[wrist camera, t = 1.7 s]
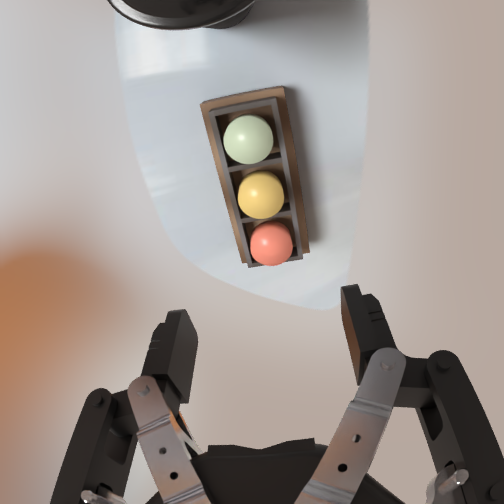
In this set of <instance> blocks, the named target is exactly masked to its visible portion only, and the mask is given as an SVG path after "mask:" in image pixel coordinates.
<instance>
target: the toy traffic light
mask: <svg viewBox="0 0 504 504" xmlns="http://www.w3.org/2000/svg"><path fill="white" fill-rule="evenodd" d="M200 108H201V111H202V115H203V119H204V123H205V127H206V131H207V134H208V138H209V142H210V146H211V150H212V153H213V157H214V161H215V165H216V168H217V172H218V176H219V180H220V183H221V187H222V191H223V195H224V198H225V202H226V206H227V209H228V213H229V217H230V220H231V224H232V228H233V231H234V235H235V239H236V242H237V246H238V250H239V253H240V257H241V261H242V263H247V264H248V268H251V267H257V266H263V264H261V263H259V262H257V261H256V260H255V259H254V258H253V256H252V254H251V234H252V231H253V230H254V228H255V227H256V226H257V225H259V224H260V223H262V222H265V221H277V222H280V223H282V224H284V225H285V226H286V227H287V228H288V229H289V231H290V234H291V240H292V246H293V249H292V253H291V255H290V257H289V258H288V259H287V260H286V261H285V262H288V261H294V260H300V259H303V254H304V253H310V250H309V242H308V235H307V227H306V220H305V213H304V206H303V199H302V192H301V186H300V179H299V173H298V167H297V161H296V155H295V149H294V143H293V137H292V131H291V126H290V120H289V115H288V109H287V104H286V99H285V94H284V89H283V87H282V86H276V87H270V88H265V89H259V90H254V91H249V92H244V93H239V94H234V95H229V96H225V97H220V98H216V99H212V100H208V101H204V102H202V103H201V104H200ZM242 114H255V115H258V116H260V117H262V118H263V119H265V120H266V121H267V123H268V124H269V125H270V128H271V131H272V135H273V146H272V149H271V151H270V153H269V154H268V156H267V157H266V158H265V159H263V160H262V161H260V162H257V163H254V164H243V163H240V162H237V161H235V160H234V159H232V158H231V157H230V156H229V155H228V153H227V152H226V150H225V147H224V134H225V132H226V129H227V127H228V125H229V123H230V122H231V121H232V120H233V119H234V118H236V117H237V116H239V115H242ZM256 170H266V171H269V172H271V173H273V174H275V175H276V176H277V177H278V178H279V180H280V181H281V184H282V188H283V193H284V202H283V206H282V208H281V209H280V210H279V212H278V213H276V214H275V215H274V216H272V217H269V218H266V219H256V218H253V217H250V216H248V215H247V214H245V213H244V212H243V211H242V209H241V208H240V206H239V203H238V193H239V186H240V183H241V181H242V179H243V178H244V177H245V176H246V175H247V174H248V173H250V172H252V171H256Z"/></svg>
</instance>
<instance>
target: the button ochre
mask: <svg viewBox="0 0 504 504" xmlns="http://www.w3.org/2000/svg"><path fill="white" fill-rule="evenodd" d="M283 202H284V193H283V188H282V184H281V181H280V180H279V178H278V177H277V176H276V175H275V174H273V173H271V172H269V171H266V170H256V171H252V172H250V173H248V174H247V175H246V176H245V177H244V178H243V179H242V181H241V183H240V186H239V193H238V203H239V206H240V208H241V209H242V211H243V212H244V213H245V214H247V215H248V216H250V217H253V218H256V219H266V218H269V217H272V216H274V215H275V214H276V213H278V212H279V210H280V209H281V208H282V206H283Z"/></svg>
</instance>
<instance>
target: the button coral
mask: <svg viewBox="0 0 504 504" xmlns="http://www.w3.org/2000/svg"><path fill="white" fill-rule="evenodd" d="M292 249H293V246H292V240H291V234H290V231H289V229H288V228H287V227H286V226H285V225H284V224H282V223H280V222H277V221H265V222H262V223H260V224H259V225H257V226H256V227H255V228H254V230H253V231H252V234H251V254H252V256H253V258H254V259H255V260H256V261H257V262H259V263H261V264H263V265H268V266H275V265H279V264H281V263H283V262H285V261H286V260H287V259H288V258H289V257H290V255H291V253H292Z"/></svg>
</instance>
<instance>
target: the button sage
mask: <svg viewBox="0 0 504 504" xmlns="http://www.w3.org/2000/svg"><path fill="white" fill-rule="evenodd" d="M272 146H273V135H272V131H271V128H270V125H269V124H268V123H267V121H266V120H265V119H263V118H262V117H260V116H258V115H255V114H242V115H239V116H237V117H236V118H234V119H233V120H232V121H231V122H230V123H229V125H228V127H227V129H226V132H225V134H224V147H225V150H226V152H227V153H228V155H229V156H230V157H231V158H232V159H234V160H235V161H237V162H240V163H243V164H254V163H257V162H260V161H262V160H263V159H265V158H266V157H267V156H268V154H269V153H270V151H271V149H272Z"/></svg>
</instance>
